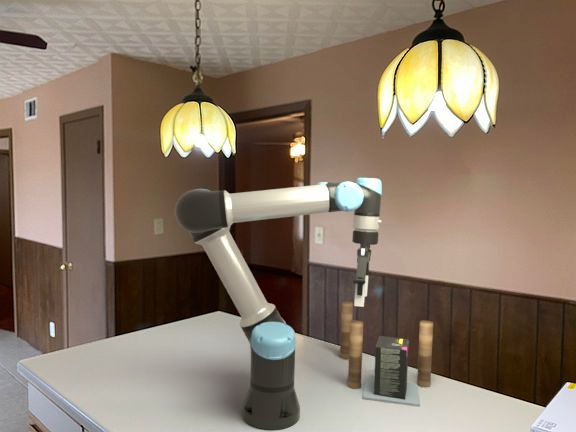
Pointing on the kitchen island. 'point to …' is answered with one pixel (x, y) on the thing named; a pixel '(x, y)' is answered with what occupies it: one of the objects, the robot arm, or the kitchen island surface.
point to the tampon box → (391, 367)
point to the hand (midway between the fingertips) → (360, 300)
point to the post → (425, 353)
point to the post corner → (355, 354)
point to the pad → (410, 399)
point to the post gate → (345, 329)
